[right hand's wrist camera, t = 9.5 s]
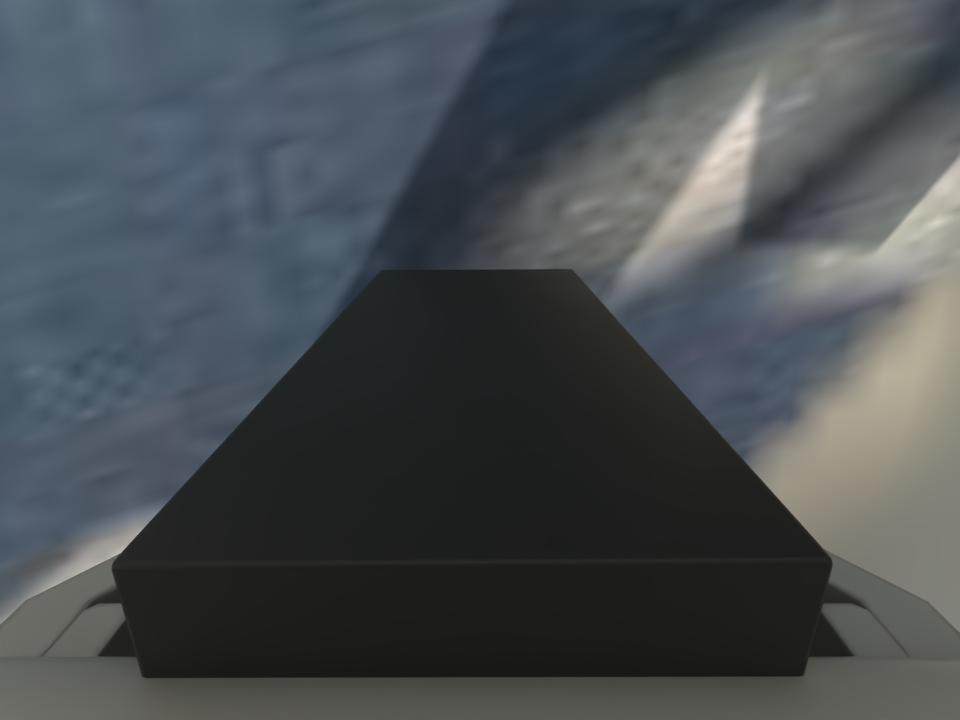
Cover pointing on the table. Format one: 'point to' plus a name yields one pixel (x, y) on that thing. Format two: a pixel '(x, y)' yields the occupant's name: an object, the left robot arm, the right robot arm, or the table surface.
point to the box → (473, 509)
